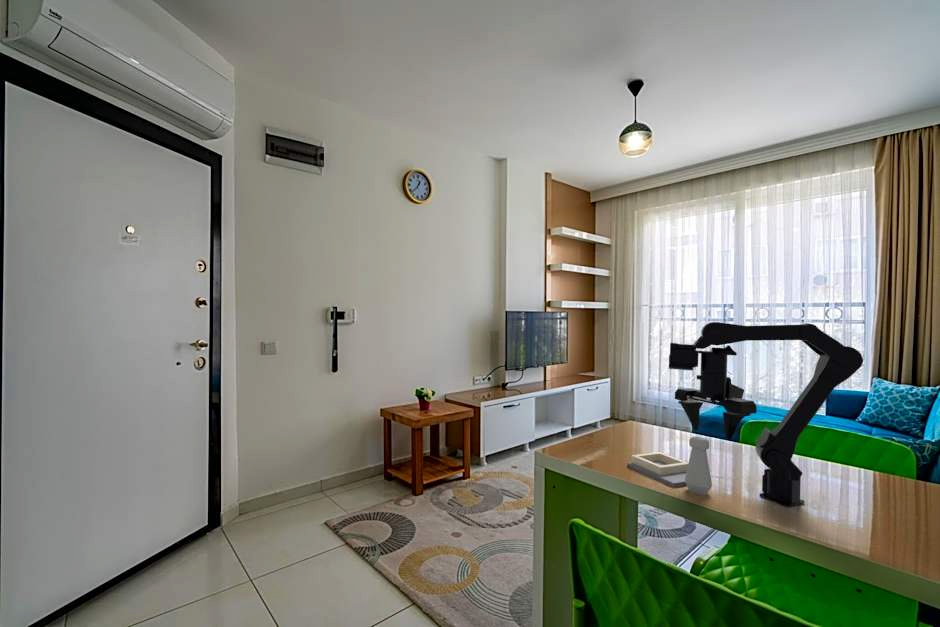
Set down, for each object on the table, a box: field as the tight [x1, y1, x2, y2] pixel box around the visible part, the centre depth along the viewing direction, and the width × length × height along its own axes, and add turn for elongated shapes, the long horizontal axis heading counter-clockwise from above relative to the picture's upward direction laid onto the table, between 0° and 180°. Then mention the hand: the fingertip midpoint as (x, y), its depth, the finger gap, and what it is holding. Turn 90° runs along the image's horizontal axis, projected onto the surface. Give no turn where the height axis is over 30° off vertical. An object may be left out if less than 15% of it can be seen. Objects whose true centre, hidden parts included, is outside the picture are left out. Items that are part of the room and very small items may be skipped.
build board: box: [626, 451, 689, 488], centre depth 116 cm, size 16×13×3 cm
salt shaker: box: [685, 436, 713, 496], centre depth 104 cm, size 6×6×13 cm
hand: (711, 434), depth 107 cm, fingers open, 9 cm apart
